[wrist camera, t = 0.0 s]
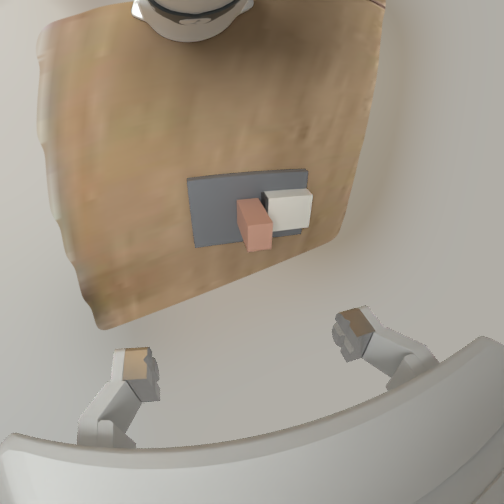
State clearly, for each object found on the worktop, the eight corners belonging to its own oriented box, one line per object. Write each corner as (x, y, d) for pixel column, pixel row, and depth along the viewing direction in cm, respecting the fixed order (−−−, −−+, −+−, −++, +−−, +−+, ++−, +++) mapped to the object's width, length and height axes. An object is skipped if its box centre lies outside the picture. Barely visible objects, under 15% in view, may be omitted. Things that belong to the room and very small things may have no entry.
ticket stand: (186, 178, 45) (187, 188, 42) (305, 168, 49) (315, 177, 46) (194, 243, 54) (196, 257, 50) (298, 230, 58) (306, 242, 54)
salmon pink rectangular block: (236, 199, 48) (247, 225, 41) (258, 197, 49) (273, 222, 42) (237, 223, 51) (247, 252, 44) (257, 221, 52) (271, 248, 45)
